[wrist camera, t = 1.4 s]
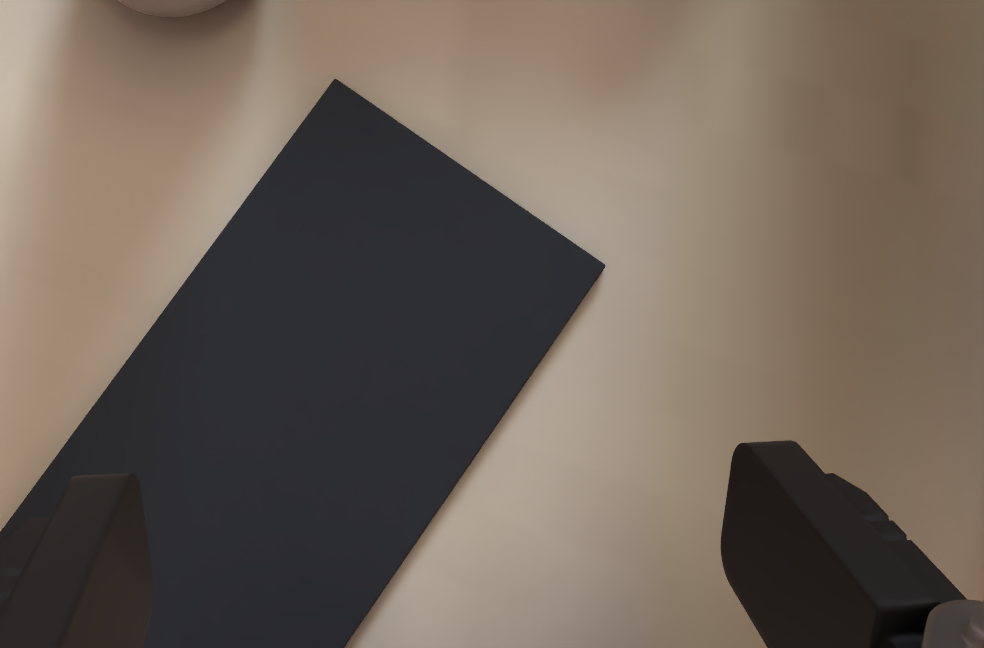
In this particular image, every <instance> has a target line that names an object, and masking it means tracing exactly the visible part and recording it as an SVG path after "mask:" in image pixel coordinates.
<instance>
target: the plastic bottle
mask: <svg viewBox="0 0 984 648" xmlns="http://www.w3.org/2000/svg"><path fill="white" fill-rule="evenodd" d="M117 1H119V2H121V3H122V4H124V5H126V6H127V7H129V8H131V9H133V10H136V11H139V12H142V13H144V14H147V15H153V16H159V17H166V18H167V17H186V16H190V15H194V14H198V13H202V12H204V11H207V10H209V9H211V8H213V7H215V6H217V5H219V4H221V3H222V2H224V1H225V0H117Z"/></svg>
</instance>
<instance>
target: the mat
mask: <svg viewBox="0 0 984 648" xmlns="http://www.w3.org/2000/svg"><path fill="white" fill-rule="evenodd" d="M604 268H605V264H603V263H602V262H600V261H599V260H597V259H596V258H595V257H593V256H592V255H590V254H589V253H587V252H586V251H584V250H583V249H582V248H580V247H579V246H577V245H576V244H574V243H573V242H571V241H570V240H568V239H567V238H566V237H564V236H563V235H561V234H560V233H558V232H557V231H555V230H554V229H553V228H551V227H550V226H548V225H547V224H545V223H544V222H542V221H541V220H540V219H538V218H537V217H535V216H534V215H532V214H531V213H529V212H528V211H526V210H525V209H524V208H522V207H521V206H519V205H518V204H516V203H515V202H513V201H512V200H511V199H509V198H508V197H506V196H505V195H503V194H502V193H500V192H499V191H498V190H496V189H495V188H493V187H492V186H490V185H489V184H487V183H486V182H485V181H483V180H482V179H480V178H479V177H477V176H476V175H474V174H473V173H471V172H470V171H469V170H467V169H466V168H464V167H463V166H461V165H460V164H458V163H457V162H456V161H454V160H453V159H451V158H450V157H448V156H447V155H445V154H444V153H443V152H441V151H440V150H438V149H437V148H435V147H434V146H432V145H431V144H430V143H428V142H427V141H425V140H424V139H422V138H421V137H419V136H418V135H416V134H415V133H414V132H412V131H411V130H409V129H408V128H406V127H405V126H403V125H402V124H401V123H399V122H398V121H396V120H395V119H393V118H392V117H390V116H389V115H388V114H386V113H385V112H383V111H382V110H380V109H379V108H377V107H376V106H375V105H373V104H372V103H370V102H369V101H367V100H366V99H364V98H363V97H361V96H360V95H359V94H357V93H356V92H354V91H353V90H351V89H350V88H348V87H347V86H346V85H344V84H343V83H341V82H340V81H338V80H337V79H334V80H333V82H332V83H331V84H330V86H329V87H328V89H327V90H326V91H325V93H324V94H323V95H322V97H321V98H320V99H319V101H318V102H317V103H316V105H315V106H314V108H313V109H312V110H311V112H310V113H309V114H308V116H307V117H306V118H305V120H304V121H303V122H302V124H301V125H300V127H299V128H298V129H297V131H296V132H295V133H294V135H293V136H292V137H291V139H290V140H289V141H288V143H287V144H286V146H285V147H284V148H283V150H282V151H281V152H280V154H279V155H278V156H277V158H276V159H275V160H274V162H273V163H272V164H271V166H270V167H269V169H268V170H267V171H266V173H265V174H264V175H263V177H262V178H261V179H260V181H259V182H258V183H257V185H256V186H255V188H254V189H253V190H252V192H251V193H250V194H249V196H248V197H247V198H246V200H245V201H244V202H243V204H242V205H241V207H240V208H239V209H238V211H237V212H236V213H235V215H234V216H233V217H232V219H231V220H230V221H229V223H228V224H227V226H226V227H225V228H224V230H223V231H222V232H221V234H220V235H219V236H218V238H217V239H216V240H215V242H214V243H213V244H212V246H211V247H210V249H209V250H208V251H207V253H206V254H205V255H204V257H203V258H202V259H201V261H200V262H199V263H198V265H197V266H196V268H195V269H194V270H193V272H192V273H191V274H190V276H189V277H188V278H187V280H186V281H185V282H184V284H183V285H182V287H181V288H180V289H179V291H178V292H177V293H176V295H175V296H174V297H173V299H172V300H171V301H170V303H169V304H168V306H167V307H166V308H165V310H164V311H163V312H162V314H161V315H160V316H159V318H158V319H157V320H156V322H155V323H154V324H153V326H152V327H151V329H150V330H149V331H148V333H147V334H146V335H145V337H144V338H143V339H142V341H141V342H140V343H139V345H138V346H137V348H136V349H135V350H134V352H133V353H132V354H131V356H130V357H129V358H128V360H127V361H126V362H125V364H124V365H123V367H122V368H121V369H120V371H119V372H118V373H117V375H116V376H115V377H114V379H113V380H112V381H111V383H110V384H109V386H108V387H107V388H106V390H105V391H104V392H103V394H102V395H101V396H100V398H99V399H98V400H97V402H96V403H95V405H94V406H93V407H92V409H91V410H90V411H89V413H88V414H87V415H86V417H85V418H84V419H83V421H82V422H81V423H80V425H79V426H78V428H77V429H76V430H75V432H74V433H73V434H72V436H71V437H70V438H69V440H68V441H67V442H66V444H65V445H64V447H63V448H62V449H61V451H60V452H59V453H58V455H57V456H56V457H55V459H54V460H53V461H52V463H51V464H50V466H49V467H48V468H47V470H46V471H45V472H44V474H43V475H42V476H41V478H40V479H39V480H38V482H37V483H36V485H35V486H34V487H33V489H32V490H31V491H30V493H29V494H28V495H27V497H26V498H25V499H24V501H23V502H22V503H21V505H20V506H19V508H18V509H17V510H16V512H15V513H14V514H13V516H12V517H11V518H10V520H9V521H8V522H7V524H6V525H5V527H4V528H3V529H2V531H1V532H0V539H1V538H2V537H3V536H4V535H6V534H7V533H8V532H9V531H11V530H12V529H13V528H14V527H16V526H17V525H18V524H19V523H21V522H22V521H23V520H24V519H26V518H35V517H50V516H51V514H52V512H53V510H54V508H55V506H56V504H57V502H58V500H59V498H60V497H61V495H62V493H63V491H64V489H65V487H66V485H67V483H68V481H69V480H70V478H71V477H73V476H84V475H103V474H123V473H135V474H136V476H137V478H138V480H139V484H140V489H141V495H142V502H143V510H144V517H145V524H146V531H147V539H148V546H149V553H150V561H151V568H152V577H153V603H152V612H151V619H150V623H149V627H148V631H147V634H146V638H145V641H144V644H143V648H344V647H345V645H346V644H347V642H348V641H349V639H350V638H351V636H352V635H353V634H354V632H355V631H356V629H357V628H358V626H359V625H360V623H361V622H362V620H363V619H364V618H365V616H366V615H367V613H368V612H369V610H370V609H371V607H372V606H373V604H374V603H375V602H376V600H377V599H378V597H379V596H380V594H381V593H382V591H383V590H384V588H385V587H386V585H387V584H388V583H389V581H390V580H391V578H392V577H393V575H394V574H395V572H396V571H397V569H398V568H399V567H400V565H401V564H402V562H403V561H404V559H405V558H406V556H407V555H408V553H409V552H410V551H411V549H412V548H413V546H414V545H415V543H416V542H417V540H418V539H419V537H420V536H421V534H422V533H423V532H424V530H425V529H426V527H427V526H428V524H429V523H430V521H431V520H432V518H433V517H434V516H435V514H436V513H437V511H438V510H439V508H440V507H441V505H442V504H443V502H444V501H445V499H446V498H447V497H448V495H449V494H450V492H451V491H452V489H453V488H454V486H455V485H456V483H457V482H458V481H459V479H460V478H461V476H462V475H463V473H464V472H465V470H466V469H467V467H468V466H469V465H470V463H471V462H472V460H473V459H474V457H475V456H476V454H477V453H478V451H479V450H480V448H481V447H482V446H483V444H484V443H485V441H486V440H487V438H488V437H489V435H490V434H491V432H492V431H493V430H494V428H495V427H496V425H497V424H498V422H499V421H500V419H501V418H502V416H503V415H504V414H505V412H506V411H507V409H508V408H509V406H510V405H511V403H512V402H513V400H514V399H515V397H516V396H517V395H518V393H519V392H520V390H521V389H522V387H523V386H524V384H525V383H526V381H527V380H528V379H529V377H530V376H531V374H532V373H533V371H534V370H535V368H536V367H537V365H538V364H539V363H540V361H541V360H542V358H543V357H544V355H545V354H546V352H547V351H548V349H549V348H550V346H551V345H552V344H553V342H554V341H555V339H556V338H557V336H558V335H559V333H560V332H561V330H562V329H563V328H564V326H565V325H566V323H567V322H568V320H569V319H570V317H571V316H572V314H573V313H574V312H575V310H576V309H577V307H578V306H579V304H580V303H581V301H582V300H583V298H584V297H585V295H586V294H587V293H588V291H589V290H590V288H591V287H592V285H593V284H594V282H595V281H596V279H597V278H598V277H599V275H600V274H601V272H602V271H603V269H604Z"/></svg>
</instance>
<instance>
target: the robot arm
mask: <svg viewBox="0 0 984 648" xmlns="http://www.w3.org/2000/svg"><path fill="white" fill-rule="evenodd" d="M721 556H722V562H723V567H724V571H725V574H726V577H727V579H728V582H729V583H730V585H731V587H732V589H733V590H734V592H735V594H736V595H737V597H738V599H739V600H740V602H741V604H742V605H743V607H744V609H745V610H746V612H747V614H748V616H749V617H750V619H751V621H752V622H753V624H754V626H755V627H756V629H757V631H758V632H759V634H760V636H761V637H762V639H763V641H764V642H765V644H766V646H767V647H768V648H984V602H982V601H976V600H967V599H966V598H965V597H964V596H963V595H962V593H961V592H960V591H959V590H958V589H957V588H956V587H955V586H954V585H953V584H952V583H951V582H950V581H949V580H948V579H947V578H946V576H945V575H944V574H943V573H942V572H941V571H940V570H939V569H938V568H937V567H936V566H935V565H934V564H933V563H932V562H931V561H930V560H929V558H928V557H927V556H926V555H925V554H924V553H923V552H922V551H921V550H920V549H919V548H918V547H917V546H916V545H915V544H914V543H913V542H912V540H907V538H906V534H905V533H904V532H903V531H902V530H901V529H900V528H899V527H898V526H897V525H896V524H895V522H894V521H889V519H888V515H887V514H886V513H885V512H884V511H883V510H882V509H881V508H880V507H879V506H878V504H877V503H876V502H875V501H874V500H873V499H872V498H871V497H870V496H869V495H868V494H867V493H866V492H864V491H863V490H861V489H859V488H858V487H856V486H854V485H852V484H851V483H849V482H847V481H846V480H844V479H842V478H841V477H839V476H837V475H835V474H834V473H830V474H825V473H824V472H823V471H822V470H821V469H820V468H819V467H818V465H817V464H816V463H815V462H814V461H813V460H812V459H811V458H810V457H809V455H808V454H807V453H806V452H805V451H804V450H803V449H802V448H801V447H800V445H798V444H797V443H796V442H794V441H791V440H790V441H771V442H751V443H740V444H739V445H738V446H737V447H736V448H735V451H734V453H733V457H732V462H731V469H730V476H729V484H728V491H727V498H726V505H725V512H724V519H723V526H722V534H721ZM152 603H153V577H152V568H151V561H150V553H149V546H148V539H147V531H146V524H145V517H144V510H143V502H142V495H141V489H140V484H139V480H138V478H137V476H136V474H135V473H123V474H103V475H84V476H73V477H71V478H70V480H69V481H68V483H67V485H66V487H65V489H64V491H63V493H62V495H61V497H60V498H59V500H58V502H57V504H56V506H55V508H54V510H53V512H52V514H51V516H50V517H35V518H26V519H24V520H23V521H22V522H21V523H19V524H18V525H17V526H16V527H14V528H13V529H12V530H11V531H9V532H8V533H7V534H6V535H4V536H3V537H2V538H1V539H0V648H143V644H144V641H145V638H146V634H147V631H148V627H149V623H150V619H151V612H152Z"/></svg>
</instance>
